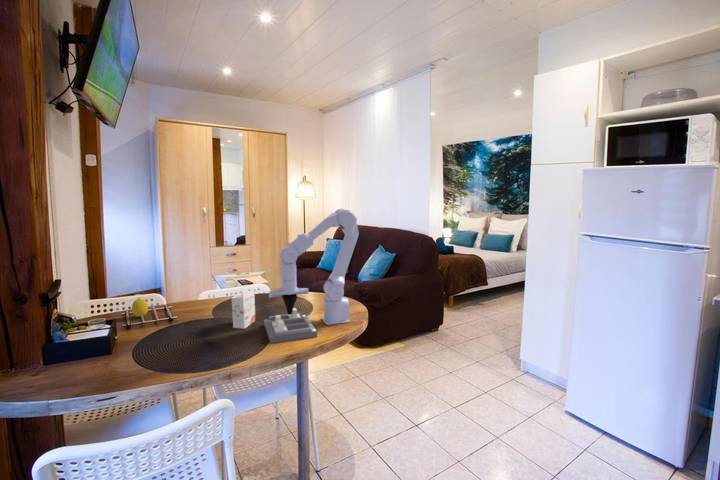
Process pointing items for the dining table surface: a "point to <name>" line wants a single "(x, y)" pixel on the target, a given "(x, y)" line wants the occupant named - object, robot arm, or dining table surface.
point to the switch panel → (290, 329)
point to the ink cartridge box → (243, 308)
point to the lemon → (139, 307)
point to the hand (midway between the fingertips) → (289, 313)
